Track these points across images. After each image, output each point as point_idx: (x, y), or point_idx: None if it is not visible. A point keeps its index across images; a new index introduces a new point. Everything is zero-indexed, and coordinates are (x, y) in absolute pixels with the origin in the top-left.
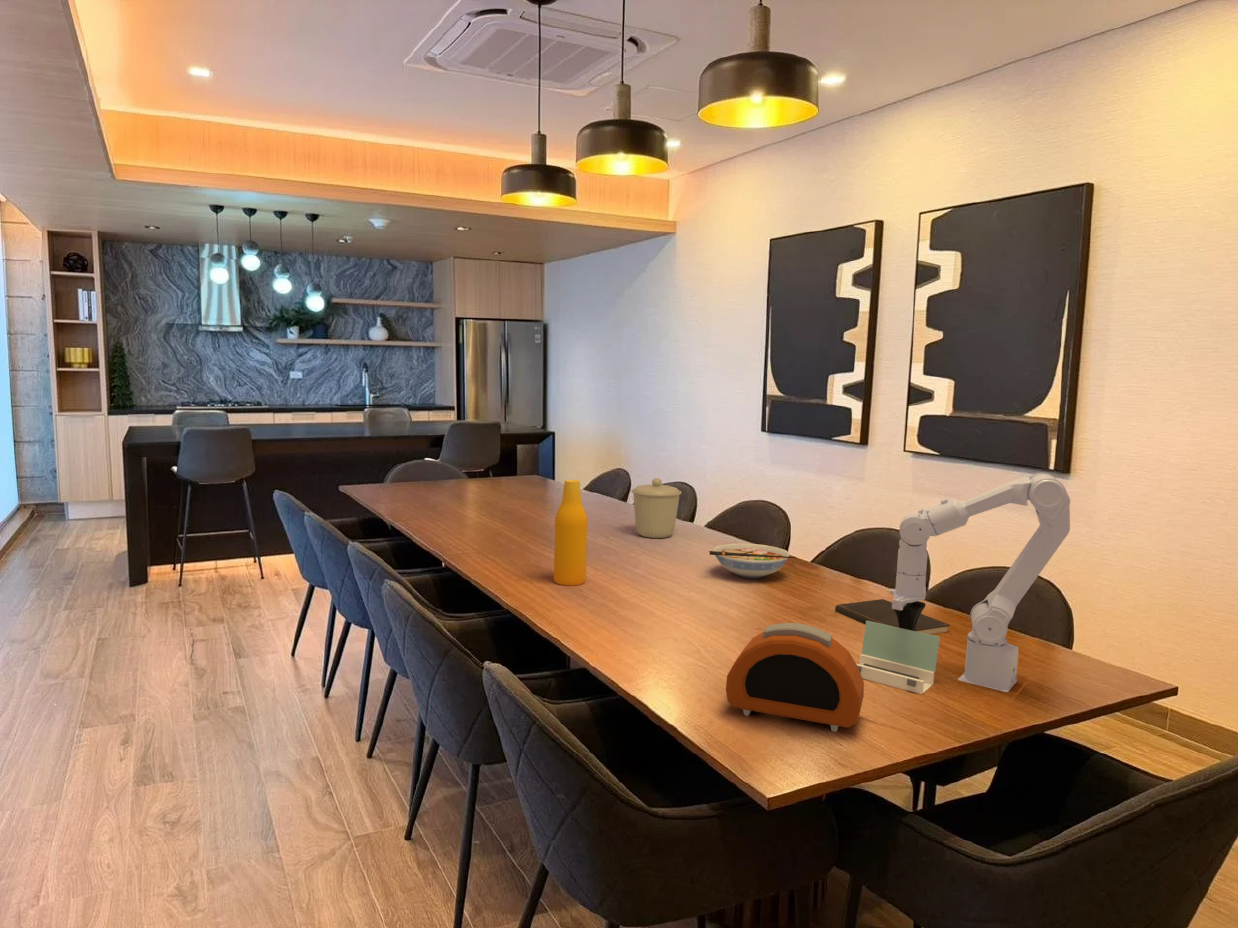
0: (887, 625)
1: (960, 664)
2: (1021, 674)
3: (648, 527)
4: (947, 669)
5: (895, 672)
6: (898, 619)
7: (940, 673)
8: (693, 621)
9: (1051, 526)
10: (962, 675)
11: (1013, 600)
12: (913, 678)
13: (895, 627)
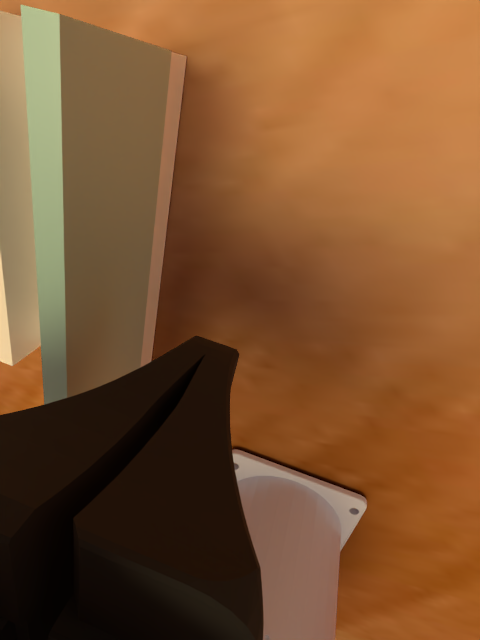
0: (42, 273)
1: (451, 487)
2: (411, 615)
3: None
4: (362, 436)
5: None
6: (99, 390)
7: (300, 407)
8: None
9: None
10: (282, 472)
11: None
12: (5, 332)
13: (43, 337)
